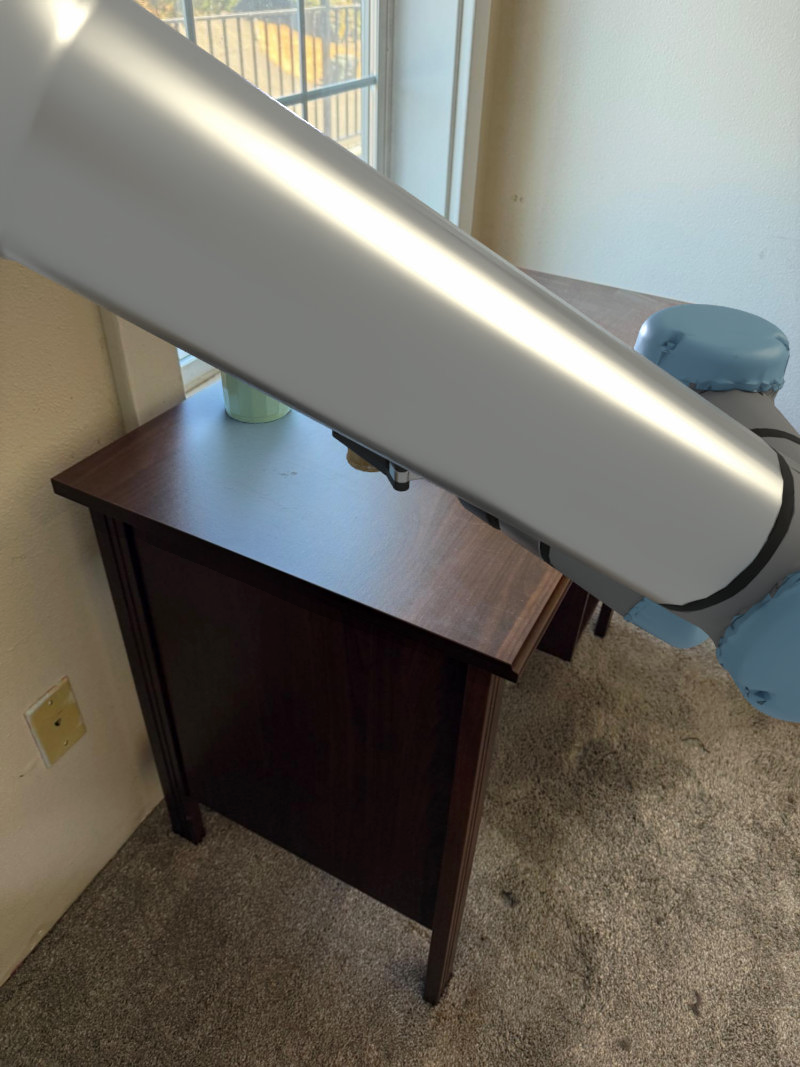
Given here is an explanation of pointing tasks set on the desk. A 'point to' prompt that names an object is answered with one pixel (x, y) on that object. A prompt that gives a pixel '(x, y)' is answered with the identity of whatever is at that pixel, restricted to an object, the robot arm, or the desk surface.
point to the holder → (249, 402)
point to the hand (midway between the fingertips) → (334, 368)
